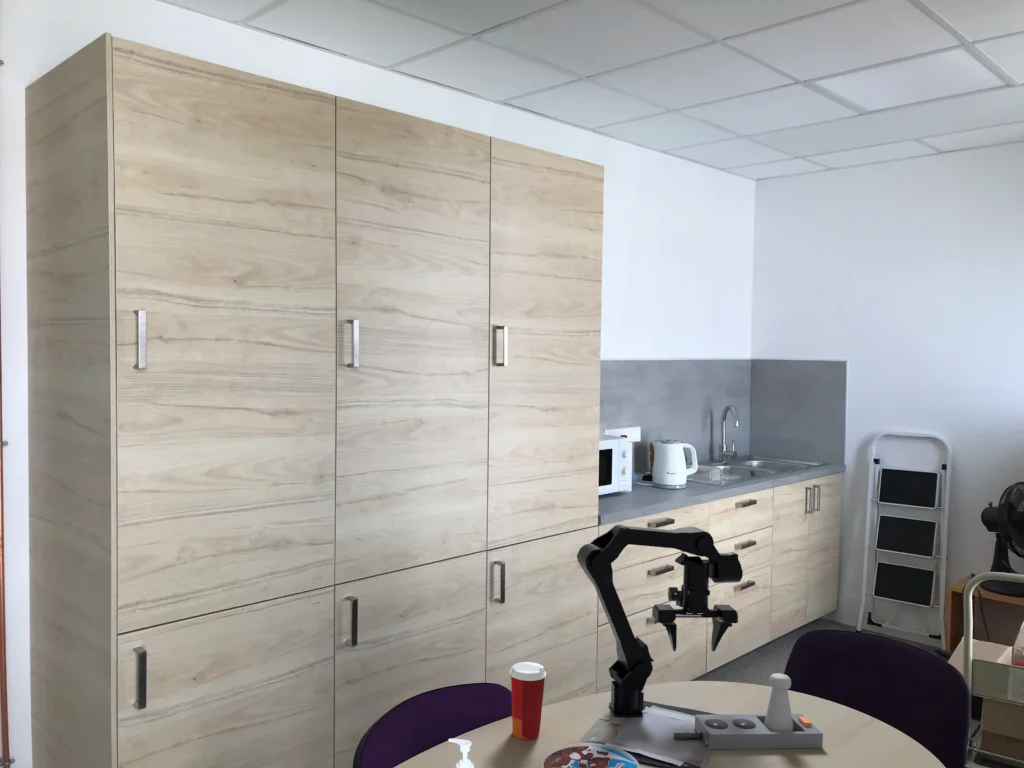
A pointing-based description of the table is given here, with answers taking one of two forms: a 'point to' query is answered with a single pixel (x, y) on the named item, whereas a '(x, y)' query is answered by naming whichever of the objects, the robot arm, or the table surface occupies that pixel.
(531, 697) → the paper cup
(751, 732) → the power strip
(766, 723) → the salt shaker
